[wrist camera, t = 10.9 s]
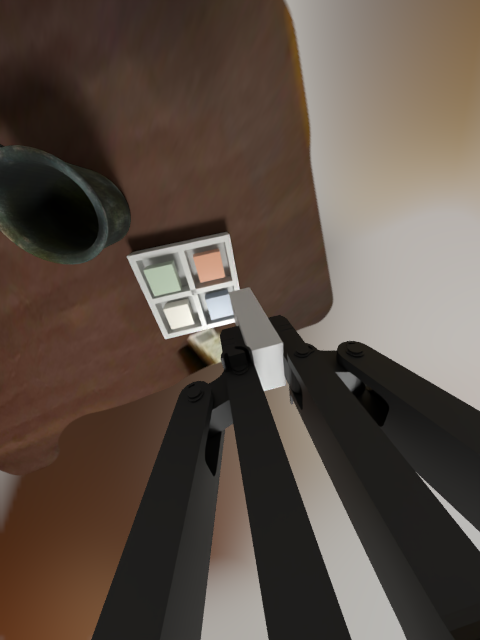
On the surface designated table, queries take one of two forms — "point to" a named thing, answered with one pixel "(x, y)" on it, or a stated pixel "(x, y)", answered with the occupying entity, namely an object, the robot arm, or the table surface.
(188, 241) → the frame
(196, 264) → the key terracotta
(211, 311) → the key slate
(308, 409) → the robot arm
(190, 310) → the key ivory
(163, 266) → the key sage
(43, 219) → the mug
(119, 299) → the table surface
